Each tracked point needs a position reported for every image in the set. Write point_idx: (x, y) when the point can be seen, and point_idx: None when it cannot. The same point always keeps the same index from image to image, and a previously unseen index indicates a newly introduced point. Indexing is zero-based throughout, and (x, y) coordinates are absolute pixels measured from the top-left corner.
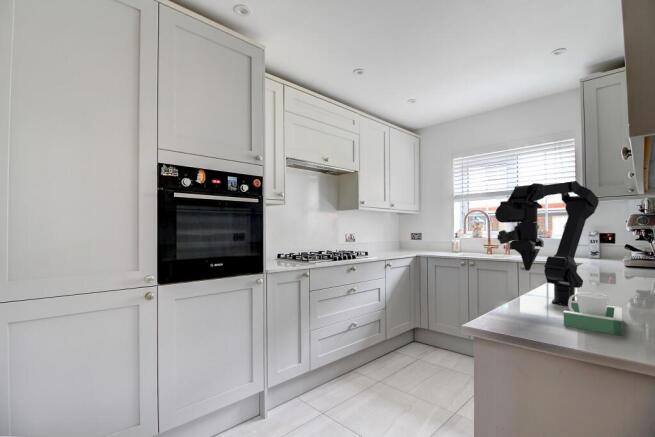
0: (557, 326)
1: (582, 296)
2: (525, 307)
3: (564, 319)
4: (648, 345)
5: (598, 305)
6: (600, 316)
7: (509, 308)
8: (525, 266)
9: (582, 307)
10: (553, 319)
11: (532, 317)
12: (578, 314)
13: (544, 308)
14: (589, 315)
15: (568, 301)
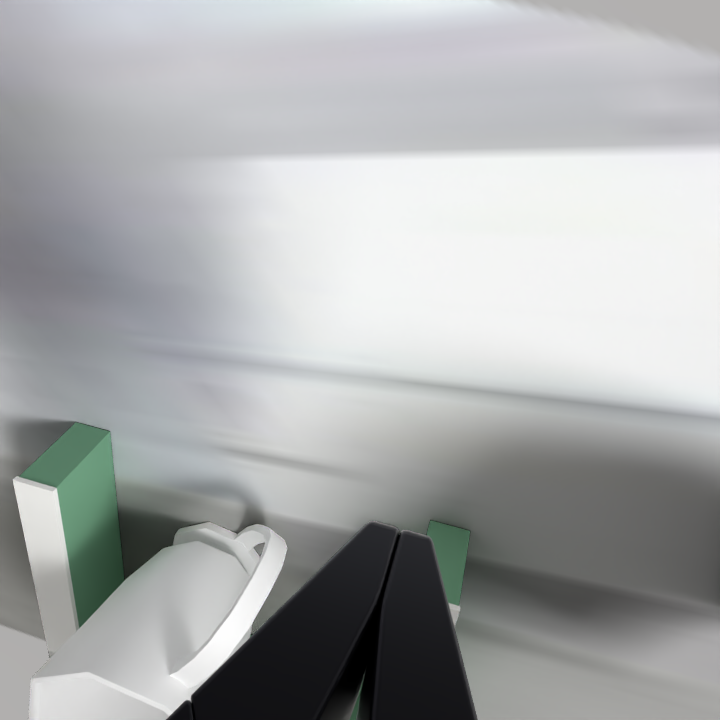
0: (25, 385)
1: (35, 674)
2: (471, 213)
3: (50, 449)
4: (36, 636)
5: (87, 682)
6: (61, 622)
7: (322, 46)
8: (315, 591)
9: (109, 603)
10: (176, 389)
11: (124, 259)
12: (28, 540)
13: (522, 376)
14: (38, 583)
15: (253, 579)
